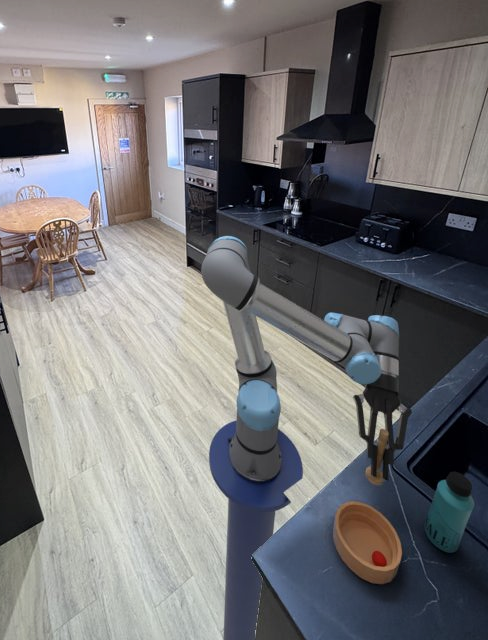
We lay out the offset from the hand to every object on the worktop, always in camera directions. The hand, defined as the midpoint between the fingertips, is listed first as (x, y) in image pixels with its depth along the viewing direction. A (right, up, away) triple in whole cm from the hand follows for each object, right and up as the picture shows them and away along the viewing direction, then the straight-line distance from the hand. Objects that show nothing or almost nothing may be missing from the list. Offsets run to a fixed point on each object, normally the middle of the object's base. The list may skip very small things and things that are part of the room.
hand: (379, 477), depth 77 cm
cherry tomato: (-4, -12, -7) cm, 15 cm away
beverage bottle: (+12, -13, -3) cm, 18 cm away
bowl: (-6, -13, -4) cm, 15 cm away
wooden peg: (+2, -4, +5) cm, 7 cm away
